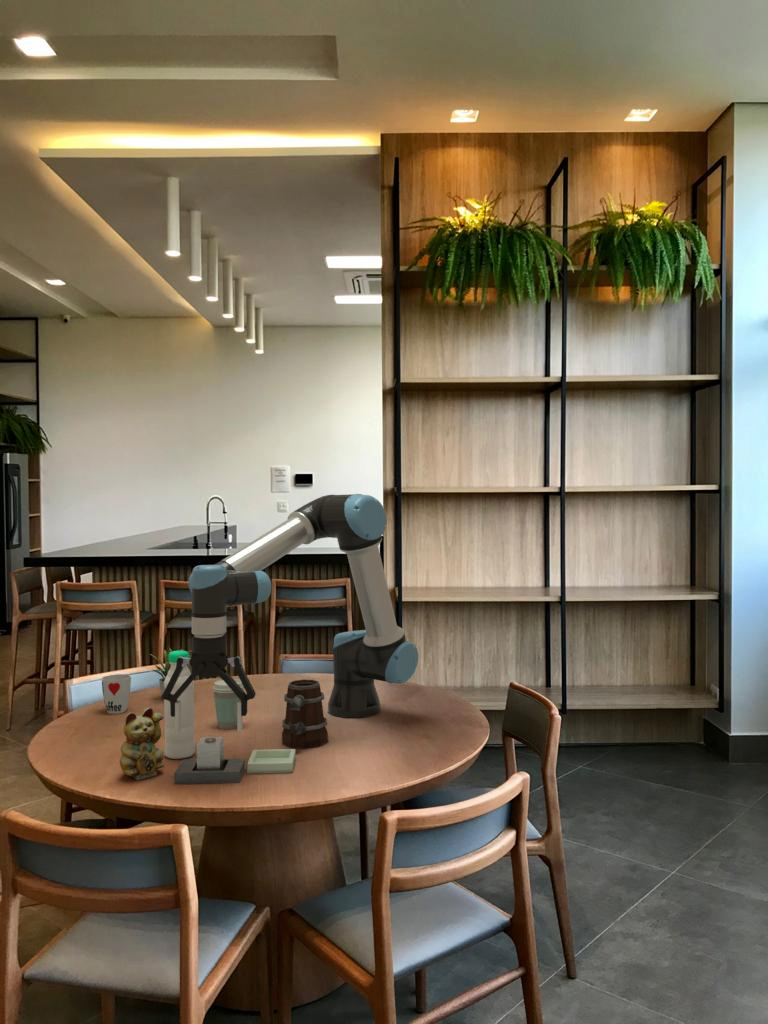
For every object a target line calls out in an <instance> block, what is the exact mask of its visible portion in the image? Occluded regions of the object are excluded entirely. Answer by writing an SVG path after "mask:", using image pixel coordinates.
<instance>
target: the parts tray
mask: <svg viewBox="0 0 768 1024" xmlns="http://www.w3.org/2000/svg"><path fill="white" fill-rule="evenodd" d="M295 761H296V748H286V749H285V748H284V749H282V748H281V749H275V748H274V749H252V751H251V753H250V757H249V759H248V761H247V765H246V767H247V768H246V769H247V773H246V774H248V775H250V774H251V775H253V774H257V775H258V774H292V773H293V771H294V766H295V763H296V762H295Z"/></svg>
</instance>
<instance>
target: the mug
mask: <svg viewBox="0 0 768 1024" xmlns="http://www.w3.org/2000/svg"><path fill="white" fill-rule="evenodd" d="M286 692H287V693H285V694H284V696H283V697H284V698H283V699H284V702H286V708H285V719H284V718H283V719H282V720H281V721H282V727H281V728H283V729H282V733H281V743H282V745H284V746H286V747H289V748H290V749H309V748H311V749H312V748H315V747H316V748H317V747H320V746H322V745H324V744H327V743H328V742H329V733H328V730H327V727H326V726H327V725H328V718H327V717H325V716H324V708H323V700H325V694H324V692H322V690H321V685H320V682H319V681H318V680H316V679H315V680H314V679H305V678H304V679H303V678H302V679H297V680H293V681H290V682H288V685H287V691H286Z"/></svg>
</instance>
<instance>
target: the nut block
mask: <svg viewBox="0 0 768 1024" xmlns="http://www.w3.org/2000/svg"><path fill="white" fill-rule="evenodd" d="M224 739H225V738H224V736H207V737H205V736H203V737H202V736H201V737H200V739H199V740H198V742H197V744H196V759H197V771H219V770H224V759H225V757H224V751H225V750H224V749H225V748H224V746H225V745H224V744H225V743H224Z"/></svg>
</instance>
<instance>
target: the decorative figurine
mask: <svg viewBox="0 0 768 1024" xmlns="http://www.w3.org/2000/svg"><path fill="white" fill-rule="evenodd" d="M163 719H165V716H164V715H163V714H162V713H160V712H155V713H154V710H153V708H151V707H147V708H145V709H144V710H143V711H142V713H141V714H140V715H137V714H136V713H134V712H129V713H127V715H126V717H125V720H124V724H123V729H122V730H123V734H124V735H125V738H126V740H125V741H123V743H122V745H121V747H120V752H121V755H120V758H119V766H120V768H121V771H122V773H123V774H124V775H127V776H129V777H132V779H135V780H136V781H139V780H145V779H147V778H151V777H155V776H157V775H158V771H157V770H159V769H162V768H164V767H165V763H164V762H163V759H164V757H165V753H164V751H163V750H162V749H161V748H159V747H156V744H157V743H158V742H159V740H160V739H161V737H162V727H161V724H160V721H162V720H163Z"/></svg>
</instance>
